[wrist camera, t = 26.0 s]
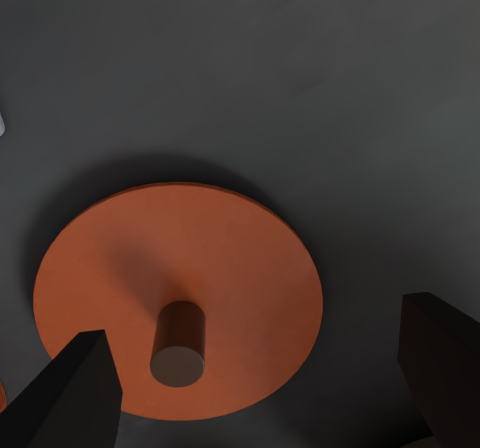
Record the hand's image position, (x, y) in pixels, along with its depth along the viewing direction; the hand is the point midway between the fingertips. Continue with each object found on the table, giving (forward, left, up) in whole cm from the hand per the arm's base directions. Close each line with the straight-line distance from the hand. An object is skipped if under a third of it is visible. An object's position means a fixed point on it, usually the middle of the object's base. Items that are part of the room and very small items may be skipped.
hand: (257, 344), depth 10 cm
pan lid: (+6, -4, -10) cm, 12 cm away
